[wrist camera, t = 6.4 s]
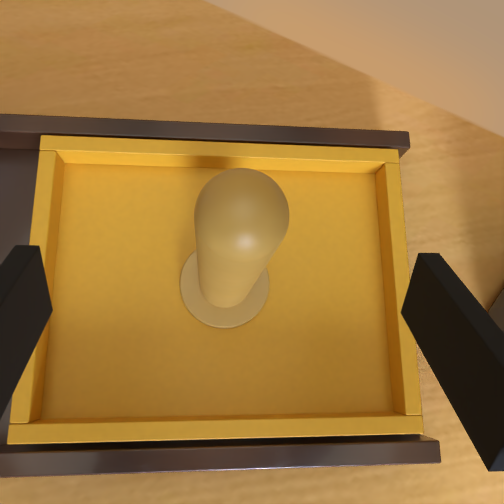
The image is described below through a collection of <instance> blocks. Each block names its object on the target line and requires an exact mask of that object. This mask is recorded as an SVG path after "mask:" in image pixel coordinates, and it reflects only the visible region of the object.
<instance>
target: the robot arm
mask: <svg viewBox="0 0 504 504" xmlns="http://www.w3.org/2000/svg"><path fill="white" fill-rule="evenodd" d="M52 312H53V308H52V304H51V299H50V294H49V289H48V284H47V280H46V275H45V270H44V265H43V260H42V256H41V251H40V246H39V245H15V246H14V247H13V249H12V250H11V251H10V253H9V254H8V255H7V257H6V258H5V260H4V261H3V262H2V264H1V265H0V420H1V418H2V416H3V413H4V411H5V409H6V407H7V405H8V403H9V401H10V399H11V397H12V395H13V393H14V391H15V388H16V386H17V384H18V382H19V380H20V378H21V376H22V374H23V372H24V370H25V368H26V366H27V364H28V361H29V359H30V357H31V355H32V353H33V351H34V349H35V347H36V345H37V343H38V341H39V339H40V337H41V334H42V332H43V330H44V328H45V326H46V324H47V322H48V320H49V318H50V316H51V314H52ZM400 313H401V315H402V317H403V318H404V320H405V322H406V324H407V326H408V327H409V329H410V331H411V333H412V335H413V336H414V338H415V340H416V342H417V344H418V345H419V347H420V349H421V351H422V353H423V354H424V356H425V358H426V360H427V362H428V363H429V365H430V367H431V369H432V371H433V372H434V374H435V376H436V378H437V380H438V381H439V383H440V385H441V387H442V389H443V390H444V392H445V394H446V396H447V398H448V399H449V401H450V403H451V405H452V407H453V408H454V410H455V412H456V414H457V416H458V417H459V419H460V421H461V423H462V425H463V427H464V428H465V430H466V432H467V434H468V436H469V437H470V439H471V441H472V443H473V445H474V446H475V448H476V450H477V452H478V454H479V455H480V457H481V459H482V461H483V463H484V464H485V466H486V468H487V470H488V471H504V331H502V330H501V329H500V328H499V327H498V325H497V324H496V323H495V322H494V320H493V319H492V318H491V317H490V315H489V314H488V313H487V312H486V311H485V309H484V308H483V307H482V306H481V304H480V303H479V302H478V301H477V299H476V298H475V297H474V296H473V295H472V293H471V292H470V291H469V290H468V288H467V287H466V286H465V285H464V284H463V282H462V281H461V280H460V279H459V277H458V276H457V275H456V274H455V272H454V271H453V270H452V269H451V268H450V266H449V265H448V264H447V263H446V261H445V260H444V259H443V258H442V256H441V255H440V254H439V253H418V256H417V260H416V263H415V266H414V270H413V273H412V276H411V279H410V283H409V286H408V289H407V293H406V296H405V299H404V302H403V306H402V309H401V312H400Z"/></svg>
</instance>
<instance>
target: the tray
mask: <svg viewBox="0 0 504 504" xmlns="http://www.w3.org/2000/svg"><path fill="white" fill-rule="evenodd" d="M29 245H39V246H40V251H41V256H42V260H43V265H44V270H45V275H46V280H47V284H48V289H49V294H50V299H51V304H52V308H53V312H52V314H51V316H50V318H49V320H48V322H47V324H46V326H45V328H44V330H43V332H42V334H41V337H40V339H39V341H38V343H37V345H36V347H35V349H34V351H33V353H32V355H31V357H30V359H29V361H28V364H27V366H26V368H25V370H24V372H23V374H22V376H21V378H20V380H19V382H18V384H17V386H16V388H15V391H14V393H13V395H12V404H11V413H10V423H11V424H9V429H8V438H7V444H44V443H82V442H121V441H159V440H198V439H236V438H274V437H313V436H351V435H390V434H423V433H424V429H423V418H422V407H421V396H420V385H419V375H418V364H417V353H416V342H415V338H414V336H413V335H412V333H411V331H410V329H409V327H408V326H407V324H406V322H405V320H404V318H403V317H402V315H401V313H400V312H401V309H402V306H403V302H404V299H405V296H406V293H407V289H408V286H409V283H410V276H409V265H408V254H407V243H406V232H405V221H404V210H403V199H402V188H401V177H400V166H399V154H398V149H380V148H354V147H329V146H304V145H279V144H254V143H228V142H203V141H178V140H153V139H128V138H103V137H77V136H52V135H41V140H40V152H39V160H38V169H37V178H36V187H35V196H34V205H33V214H32V223H31V232H30V241H29Z"/></svg>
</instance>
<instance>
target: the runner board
mask: <svg viewBox="0 0 504 504" xmlns="http://www.w3.org/2000/svg"><path fill="white" fill-rule="evenodd" d="M41 135H52V136H77V137H103V138H128V139H153V140H178V141H203V142H228V143H254V144H279V145H304V146H329V147H354V148H380V149H398V154H399V159H400V158H401V157H402V156H403V155H404V154H405V152H406V151H407V150H408V149H409V148H410V139H409V132H407V131H384V130H361V129H338V128H315V127H293V126H270V125H247V124H224V123H202V122H179V121H156V120H133V119H110V118H88V117H65V116H42V115H19V114H0V265H1V264H2V262H3V261H4V260H5V258H6V257H7V255H8V254H9V253H10V251H11V250H12V249H13V247H14V246H15V245H29V241H30V232H31V223H32V214H33V205H34V196H35V187H36V178H37V169H38V160H39V152H40V140H41ZM11 404H12V397H11V399H10V401H9V403H8V405H7V407H6V409H5V411H4V413H3V416H2V418H1V420H0V478H10V477H40V476H70V475H101V474H131V473H161V472H191V471H222V470H252V469H282V468H313V467H343V466H373V465H403V464H434V463H441V456H440V445H439V441H438V440H435V439H432V438H429V437H427V436H424V435H421V434H390V435H351V436H313V437H274V438H236V439H198V440H159V441H121V442H82V443H44V444H7V438H8V429H9V424H11V423H10V413H11Z"/></svg>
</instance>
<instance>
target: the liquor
mask: <svg viewBox="0 0 504 504" xmlns="http://www.w3.org/2000/svg"><path fill="white" fill-rule="evenodd" d="M488 314H489V315H490V317H491V318H492V319H493V320H494V322H495V323H496V324H497V325H498V327H499V328H500V329H501V330H502V331H504V289H503V290H502V291H501V293H500V294H499V296H498V297H497V299H496V300H495V302H494V303H493V305H492V306H491V308H490V309H489V311H488Z"/></svg>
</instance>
